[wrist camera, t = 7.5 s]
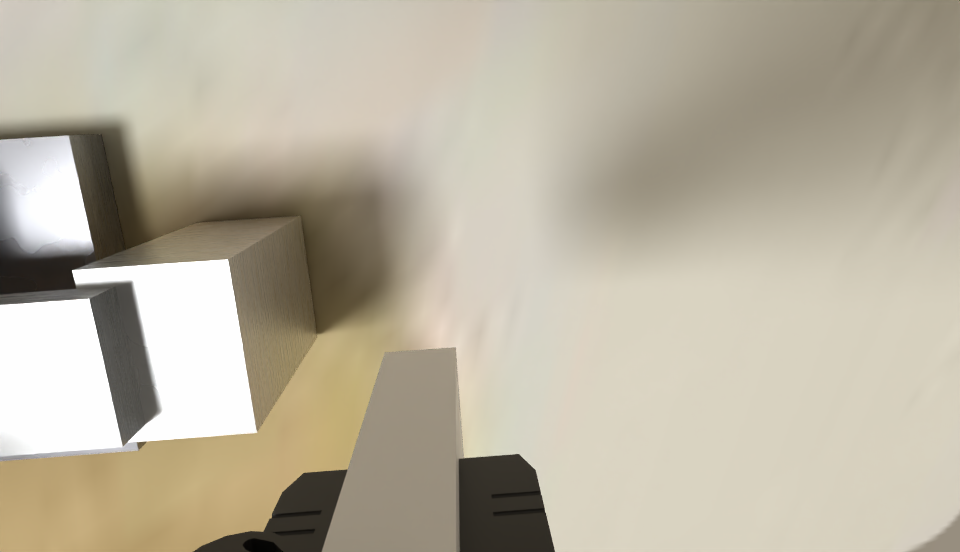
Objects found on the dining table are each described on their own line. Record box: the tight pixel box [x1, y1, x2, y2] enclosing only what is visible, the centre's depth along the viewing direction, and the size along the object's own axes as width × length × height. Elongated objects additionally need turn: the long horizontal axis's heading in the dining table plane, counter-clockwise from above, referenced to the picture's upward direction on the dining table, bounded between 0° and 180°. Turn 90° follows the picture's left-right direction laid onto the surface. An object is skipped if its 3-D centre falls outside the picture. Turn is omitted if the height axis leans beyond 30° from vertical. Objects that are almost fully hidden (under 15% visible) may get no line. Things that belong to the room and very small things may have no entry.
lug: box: [0, 216, 317, 456], centre depth 20 cm, size 5×8×9 cm, turn 93°
